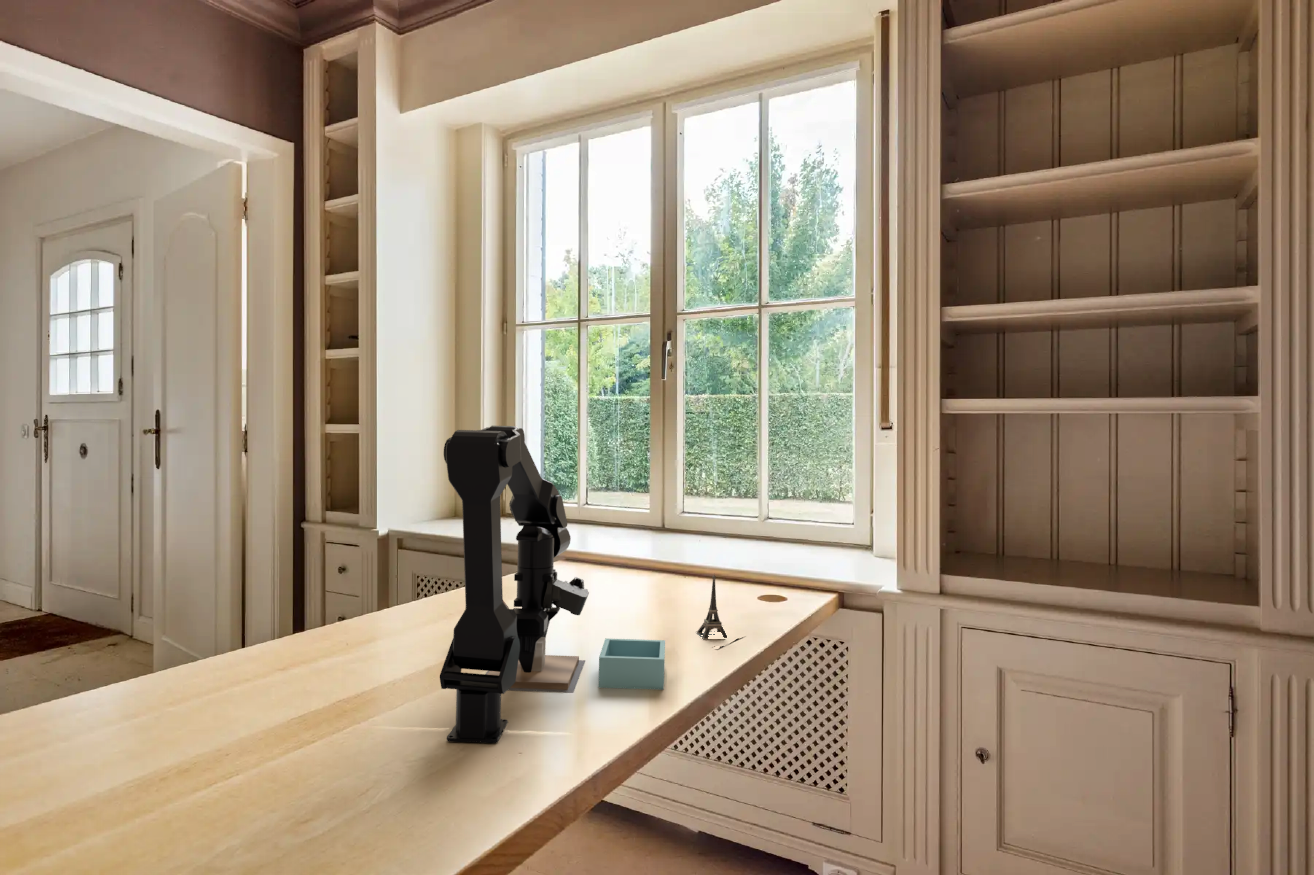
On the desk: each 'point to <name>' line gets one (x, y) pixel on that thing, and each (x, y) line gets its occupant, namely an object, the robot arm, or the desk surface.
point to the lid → (546, 670)
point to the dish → (632, 664)
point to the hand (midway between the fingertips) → (533, 662)
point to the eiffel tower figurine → (710, 622)
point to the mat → (570, 689)
